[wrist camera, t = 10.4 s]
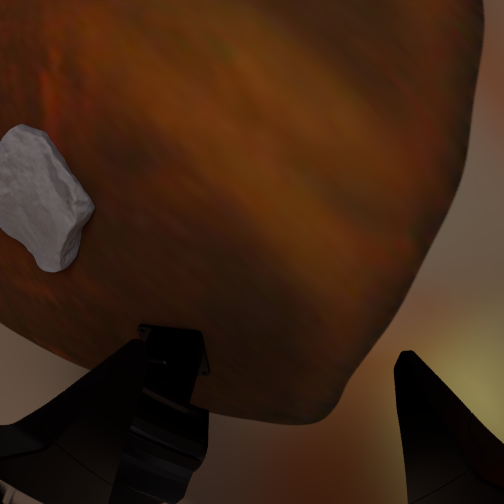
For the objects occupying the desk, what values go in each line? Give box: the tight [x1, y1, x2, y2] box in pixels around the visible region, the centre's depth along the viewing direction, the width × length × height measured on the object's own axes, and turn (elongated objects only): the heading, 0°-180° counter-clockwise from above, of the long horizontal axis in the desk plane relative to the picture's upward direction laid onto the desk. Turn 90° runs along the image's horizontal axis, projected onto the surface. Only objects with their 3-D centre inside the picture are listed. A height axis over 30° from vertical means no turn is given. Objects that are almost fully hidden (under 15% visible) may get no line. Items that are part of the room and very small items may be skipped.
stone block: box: [0, 124, 95, 272], centre depth 19 cm, size 12×5×10 cm
